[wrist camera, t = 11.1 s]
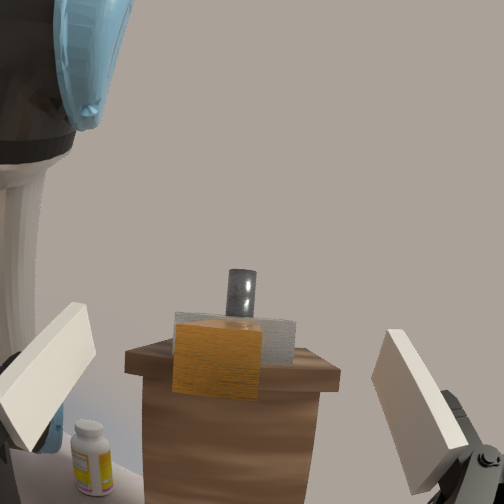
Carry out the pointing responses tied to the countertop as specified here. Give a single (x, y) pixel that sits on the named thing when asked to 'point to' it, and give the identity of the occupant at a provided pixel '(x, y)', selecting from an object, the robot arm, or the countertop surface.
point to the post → (229, 433)
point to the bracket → (229, 345)
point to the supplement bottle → (91, 459)
